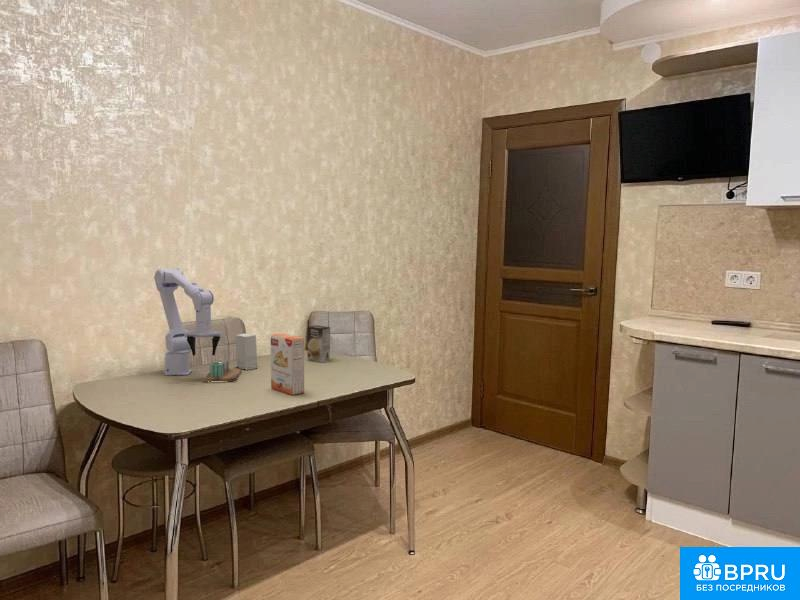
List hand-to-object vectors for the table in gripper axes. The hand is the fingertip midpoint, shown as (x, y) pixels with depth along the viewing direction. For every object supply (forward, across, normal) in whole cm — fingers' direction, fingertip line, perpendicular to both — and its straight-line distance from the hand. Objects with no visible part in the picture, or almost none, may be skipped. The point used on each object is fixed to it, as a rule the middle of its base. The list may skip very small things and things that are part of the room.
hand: (203, 355), depth 250 cm
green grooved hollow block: (+8, +5, 0) cm, 10 cm away
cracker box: (+10, +34, -20) cm, 41 cm away
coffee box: (+10, +45, +36) cm, 59 cm away
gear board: (+10, +7, +4) cm, 13 cm away
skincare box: (+10, +14, +21) cm, 27 cm away
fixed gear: (+8, +5, +9) cm, 13 cm away
